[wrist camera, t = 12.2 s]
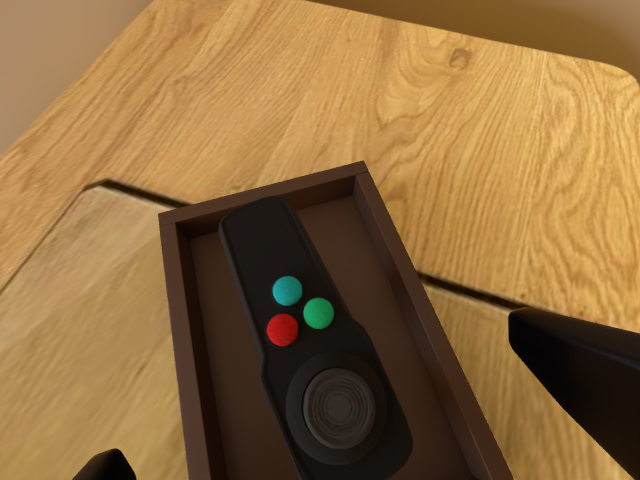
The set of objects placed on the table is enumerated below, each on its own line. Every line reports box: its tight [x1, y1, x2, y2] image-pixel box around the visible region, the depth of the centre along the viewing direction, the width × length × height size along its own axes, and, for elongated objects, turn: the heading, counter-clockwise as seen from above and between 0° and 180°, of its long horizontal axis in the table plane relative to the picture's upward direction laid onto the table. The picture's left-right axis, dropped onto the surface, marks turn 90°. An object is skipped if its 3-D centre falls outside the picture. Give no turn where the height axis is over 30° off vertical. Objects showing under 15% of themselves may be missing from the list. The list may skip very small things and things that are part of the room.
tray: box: [158, 161, 514, 480], centre depth 19 cm, size 20×14×3 cm
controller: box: [218, 196, 413, 480], centre depth 15 cm, size 4×12×10 cm, turn 25°
